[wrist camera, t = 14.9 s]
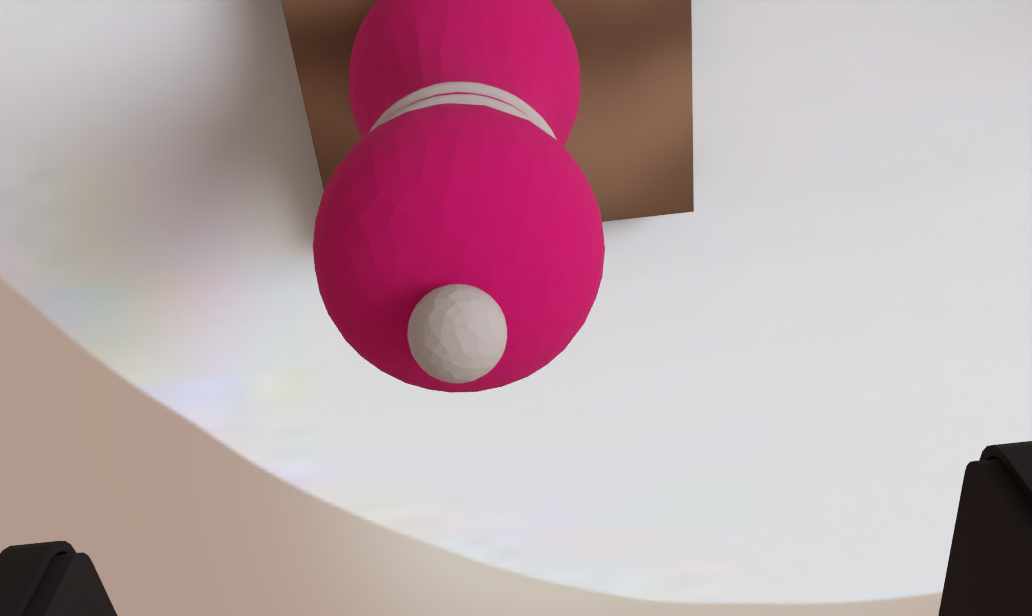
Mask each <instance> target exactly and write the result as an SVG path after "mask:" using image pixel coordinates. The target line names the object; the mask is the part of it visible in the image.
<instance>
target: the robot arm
mask: <svg viewBox="0 0 1032 616" xmlns="http://www.w3.org/2000/svg"><path fill="white" fill-rule="evenodd" d="M0 616H117V614H116V612H115V610H114V608H113V605H112V604H111V601H110V599H109V597H108V595H107V593H106V591H105V588H104V586H103V584H102V582H101V580H100V578H99V576H98V573H97V571H96V569H95V567H94V565H93V563H92V561H91V559H90V558H89V556H88V555H86V554H85V553H76V552H75V550H74V549H73V547H72V546H71V544H69V543H68V542H66V541H54V542H44V543H35V544H25V545H16V546H9V547H8V548H6V549H4V550H3V551H2V552H1V553H0ZM939 616H1032V441H1028V442H1019V443H1009V444H999V445H991V446H987V447H986V448H985V449H984V450H983V451H982V454H981V457H980V461H973V462H970V463H969V464H968V465H967V467H966V470H965V474H964V480H963V485H962V491H961V496H960V501H959V507H958V512H957V518H956V523H955V529H954V534H953V540H952V545H951V550H950V556H949V561H948V567H947V572H946V578H945V583H944V589H943V595H942V599H941V605H940V610H939Z"/></svg>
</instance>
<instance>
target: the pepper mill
mask: <svg viewBox="0 0 1032 616" xmlns="http://www.w3.org/2000/svg"><path fill="white" fill-rule="evenodd" d="M349 98H350V106H351V110H352V114H353V117H354V121H355V124H356V127H357V129H358V131H359V133H360V135H361V137H362V139H361V140H360V141H358V142H357V143H356V144H355V146H354V147H353V148H352V149H351V150H350V152H349V153H348V154H347V155H346V157H345V158H344V159H343V160H342V161H341V163H340V164H339V165H338V166H337V168H336V169H335V171H334V173H333V175H332V177H331V178H330V180H329V182H328V184H327V186H326V188H325V190H324V193H323V196H322V200H321V203H320V206H319V210H318V213H317V216H316V222H315V232H314V241H313V253H314V264H315V272H316V276H317V281H318V286H319V291H320V294H321V297H322V299H323V302H324V304H325V307H326V310H327V312H328V314H329V316H330V317H331V319H332V321H333V322H334V324H335V325H336V327H337V328H338V330H339V331H340V333H341V334H342V336H343V337H344V339H345V340H346V341H347V342H348V343H349V344H350V345H351V346H352V347H353V348H354V349H355V350H356V351H357V352H358V354H359V355H360V356H362V357H363V358H364V359H366V360H367V361H368V362H370V363H371V364H373V365H374V366H375V367H377V368H378V369H379V370H381V371H383V372H385V373H387V374H389V375H391V376H393V377H395V378H397V379H399V380H401V381H403V382H405V383H408V384H412V385H415V386H419V387H422V388H426V389H430V390H437V391H445V392H477V391H482V390H487V389H492V388H497V387H502V386H504V385H507V384H510V383H512V382H515V381H518V380H520V379H523V378H525V377H528V376H529V375H531V374H533V373H534V372H536V371H537V370H539V369H541V368H542V367H544V366H545V365H547V364H548V363H549V362H551V361H552V360H553V359H554V358H555V357H556V356H557V355H558V354H560V353H561V352H562V351H563V350H564V349H565V348H566V347H567V345H568V344H569V343H570V341H571V340H572V339H573V337H574V336H575V335H576V333H577V332H578V331H579V329H580V328H581V327H582V325H583V324H584V323H585V320H586V318H587V316H588V314H589V312H590V310H591V308H592V305H593V303H594V301H595V299H596V296H597V292H598V289H599V286H600V282H601V279H602V273H603V262H604V252H605V246H604V236H603V227H602V220H601V214H600V208H599V206H598V203H597V201H596V198H595V196H594V193H593V191H592V188H591V186H590V183H589V182H588V180H587V178H586V177H585V175H584V174H583V172H582V170H581V169H580V167H579V166H578V164H577V163H576V161H575V159H574V158H573V156H572V155H571V154H570V153H569V152H568V151H567V150H566V149H565V148H564V145H565V143H566V142H567V140H568V137H569V135H570V132H571V130H572V127H573V125H574V122H575V120H576V117H577V112H578V107H579V101H580V65H579V60H578V54H577V49H576V46H575V43H574V40H573V37H572V34H571V32H570V30H569V28H568V26H567V24H566V22H565V21H564V19H563V17H562V15H561V14H560V13H559V11H558V10H557V9H556V8H555V6H554V5H553V4H552V3H551V1H550V0H377V2H376V3H375V4H374V5H373V6H372V8H371V9H370V10H369V12H368V13H367V15H366V17H365V19H364V20H363V22H362V24H361V25H360V28H359V30H358V33H357V36H356V38H355V41H354V44H353V49H352V54H351V59H350V71H349Z"/></svg>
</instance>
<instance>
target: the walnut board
mask: <svg viewBox="0 0 1032 616" xmlns="http://www.w3.org/2000/svg"><path fill="white" fill-rule="evenodd" d="M281 1H282V5H283V10H284V14H285V19H286V23H287V28H288V32H289V37H290V41H291V45H292V50H293V54H294V59H295V63H296V68H297V72H298V77H299V81H300V85H301V90H302V94H303V99H304V103H305V108H306V112H307V117H308V121H309V125H310V130H311V134H312V139H313V143H314V148H315V152H316V157H317V161H318V166H319V170H320V174H321V179H322V183H323V188H324V190H325V188H326V186H327V184H328V182H329V180H330V178H331V177H332V175H333V173H334V171H335V169H336V168H337V166H338V165H339V164H340V163H341V161H342V160H343V159H344V158H345V157H346V155H347V154H348V153H349V152H350V150H351V149H352V148H353V147H354V146H355V144H356V143H357V142H358V141H360V140H361V139H362V137H361V135H360V133H359V131H358V129H357V127H356V124H355V121H354V117H353V114H352V110H351V106H350V98H349V71H350V59H351V54H352V49H353V44H354V41H355V38H356V36H357V33H358V30H359V28H360V25H361V24H362V22H363V20H364V19H365V17H366V15H367V13H368V12H369V10H370V9H371V8H372V6H373V5H374V4H375V3H376V2H377V0H281ZM550 1H551V3H552V4H553V5H554V6H555V8H556V9H557V10H558V11H559V13H560V14H561V15H562V17H563V19H564V21H565V22H566V24H567V26H568V28H569V30H570V32H571V34H572V37H573V40H574V43H575V46H576V49H577V54H578V60H579V65H580V101H579V107H578V112H577V117H576V120H575V122H574V125H573V127H572V130H571V132H570V135H569V137H568V140H567V142H566V143H565V145H564V148H565V149H566V150H567V151H568V152H569V153H570V154H571V155H572V156H573V158H574V159H575V161H576V163H577V164H578V166H579V167H580V169H581V170H582V172H583V174H584V175H585V177H586V178H587V180H588V182H589V183H590V186H591V188H592V191H593V193H594V196H595V198H596V201H597V203H598V206H599V208H600V214H601V220H602V222H603V221H612V220H621V219H630V218H639V217H648V216H657V215H666V214H675V213H684V212H693V211H694V205H693V117H692V28H691V0H550Z"/></svg>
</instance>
